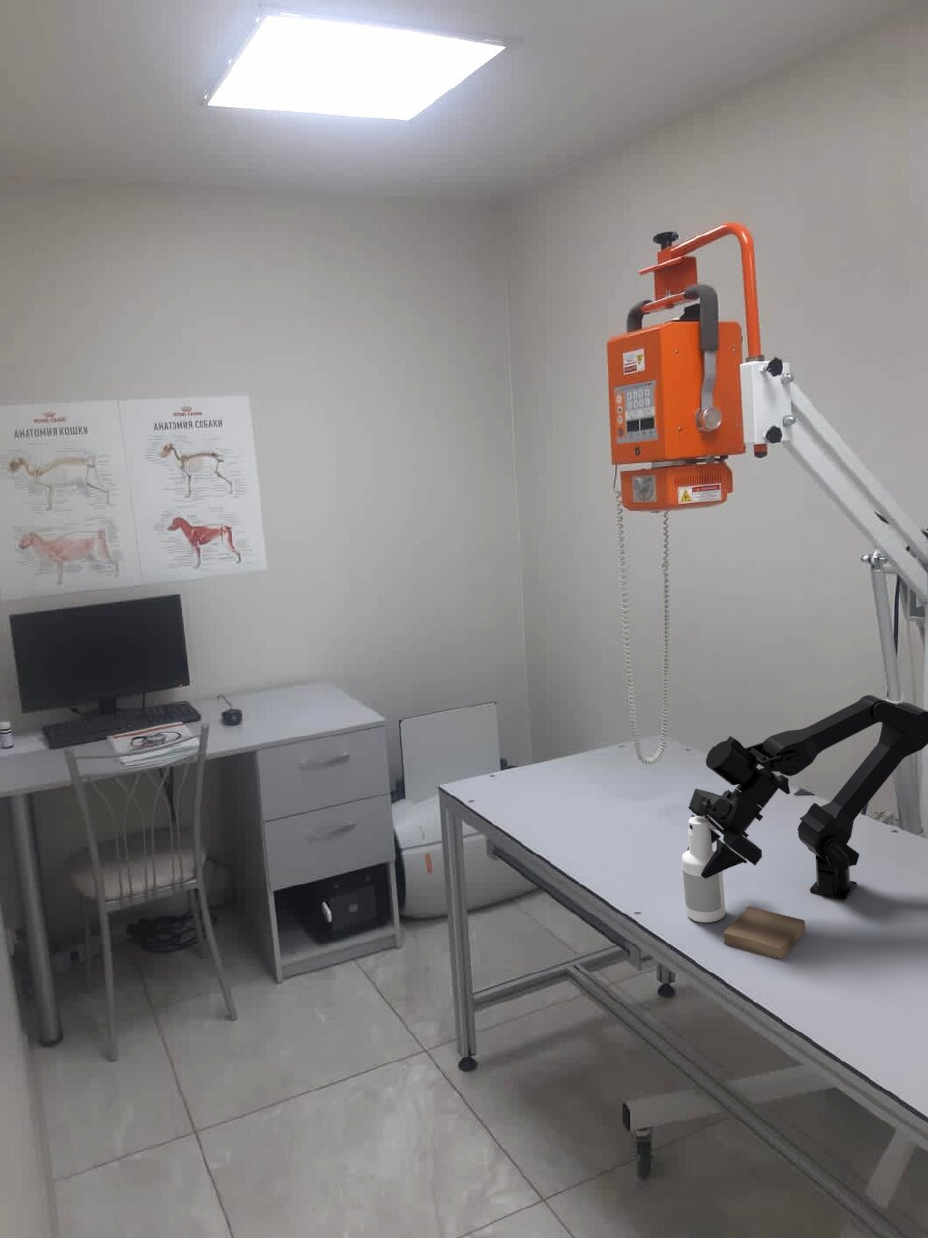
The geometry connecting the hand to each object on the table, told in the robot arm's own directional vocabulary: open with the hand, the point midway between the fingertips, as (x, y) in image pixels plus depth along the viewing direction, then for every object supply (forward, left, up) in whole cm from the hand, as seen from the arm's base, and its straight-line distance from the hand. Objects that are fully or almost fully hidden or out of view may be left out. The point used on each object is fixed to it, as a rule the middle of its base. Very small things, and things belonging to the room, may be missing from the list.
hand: (694, 868), depth 173 cm
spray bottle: (-1, +1, -9) cm, 9 cm away
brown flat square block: (+1, +13, -9) cm, 16 cm away
